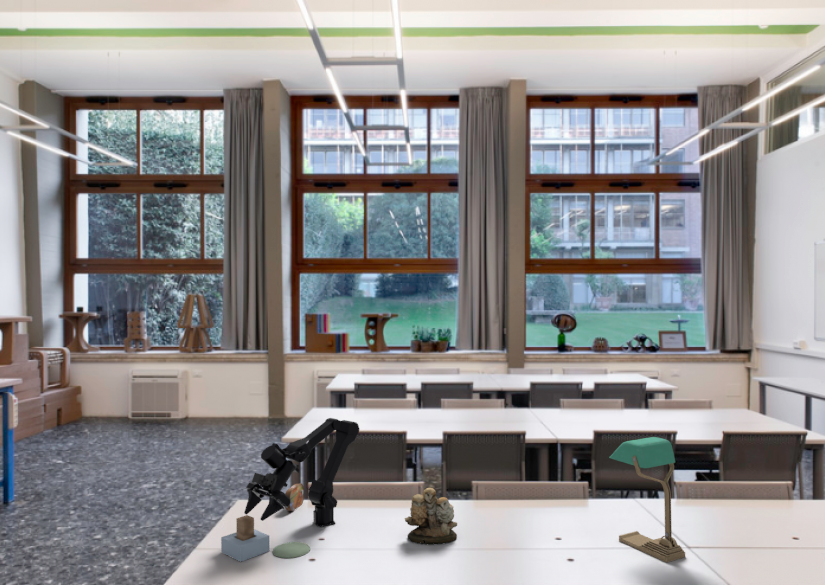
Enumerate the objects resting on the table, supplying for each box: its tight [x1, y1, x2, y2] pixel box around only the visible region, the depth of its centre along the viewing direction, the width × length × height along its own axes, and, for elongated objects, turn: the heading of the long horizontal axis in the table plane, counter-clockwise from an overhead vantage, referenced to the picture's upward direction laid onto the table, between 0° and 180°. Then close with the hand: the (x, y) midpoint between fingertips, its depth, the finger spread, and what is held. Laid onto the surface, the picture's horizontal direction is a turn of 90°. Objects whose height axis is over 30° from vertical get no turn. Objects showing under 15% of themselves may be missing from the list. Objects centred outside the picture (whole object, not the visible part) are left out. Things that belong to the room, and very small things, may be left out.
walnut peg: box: [236, 514, 255, 541], centre depth 201 cm, size 4×4×9 cm
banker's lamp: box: [608, 436, 686, 563], centre depth 201 cm, size 16×21×35 cm
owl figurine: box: [404, 487, 458, 546], centre depth 211 cm, size 18×12×17 cm, turn 95°
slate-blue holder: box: [220, 528, 270, 563], centre depth 201 cm, size 11×11×5 cm
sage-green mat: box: [272, 541, 311, 559], centre depth 202 cm, size 12×12×1 cm
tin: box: [284, 482, 305, 512], centre depth 244 cm, size 15×3×8 cm, turn 168°
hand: (253, 516), depth 204 cm, fingers open, 9 cm apart
